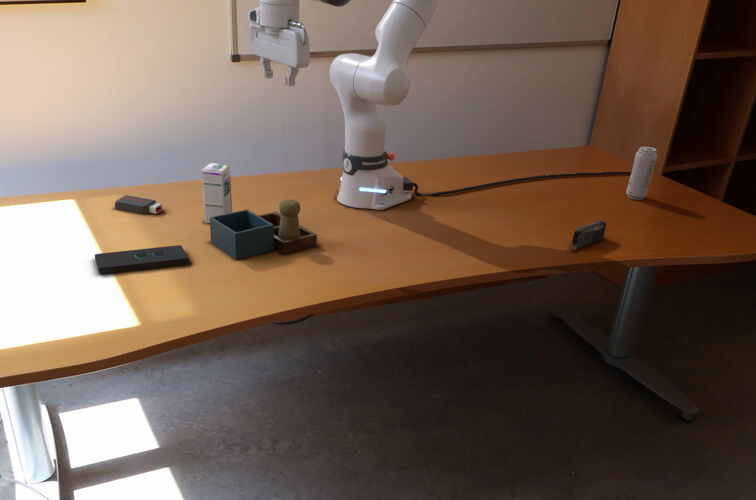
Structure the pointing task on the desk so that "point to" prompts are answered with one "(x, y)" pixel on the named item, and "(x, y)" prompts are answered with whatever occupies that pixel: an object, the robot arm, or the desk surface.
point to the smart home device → (140, 259)
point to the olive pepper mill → (289, 219)
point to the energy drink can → (641, 173)
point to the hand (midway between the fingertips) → (279, 81)
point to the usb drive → (138, 205)
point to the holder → (290, 245)
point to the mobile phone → (588, 234)
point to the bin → (242, 234)
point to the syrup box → (216, 190)
